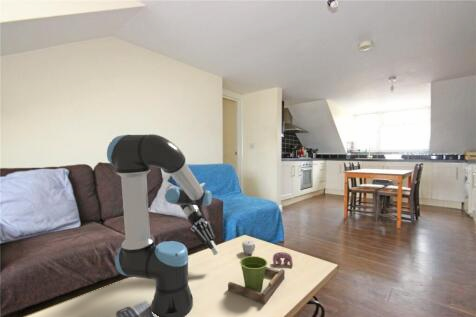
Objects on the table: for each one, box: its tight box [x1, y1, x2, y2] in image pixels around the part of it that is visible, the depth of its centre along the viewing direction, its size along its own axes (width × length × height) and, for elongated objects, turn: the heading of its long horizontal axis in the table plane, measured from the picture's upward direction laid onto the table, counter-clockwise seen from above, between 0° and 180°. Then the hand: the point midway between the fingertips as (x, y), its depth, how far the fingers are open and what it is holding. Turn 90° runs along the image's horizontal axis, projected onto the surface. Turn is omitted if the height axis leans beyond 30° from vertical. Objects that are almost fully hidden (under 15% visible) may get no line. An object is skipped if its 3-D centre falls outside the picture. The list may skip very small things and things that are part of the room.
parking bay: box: [227, 266, 285, 305], centre depth 101 cm, size 17×21×5 cm
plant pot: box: [239, 255, 268, 292], centre depth 98 cm, size 12×12×11 cm
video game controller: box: [272, 251, 294, 268], centre depth 119 cm, size 10×5×7 cm, turn 85°
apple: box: [241, 240, 256, 255], centre depth 132 cm, size 8×8×7 cm
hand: (216, 253), depth 113 cm, fingers closed
